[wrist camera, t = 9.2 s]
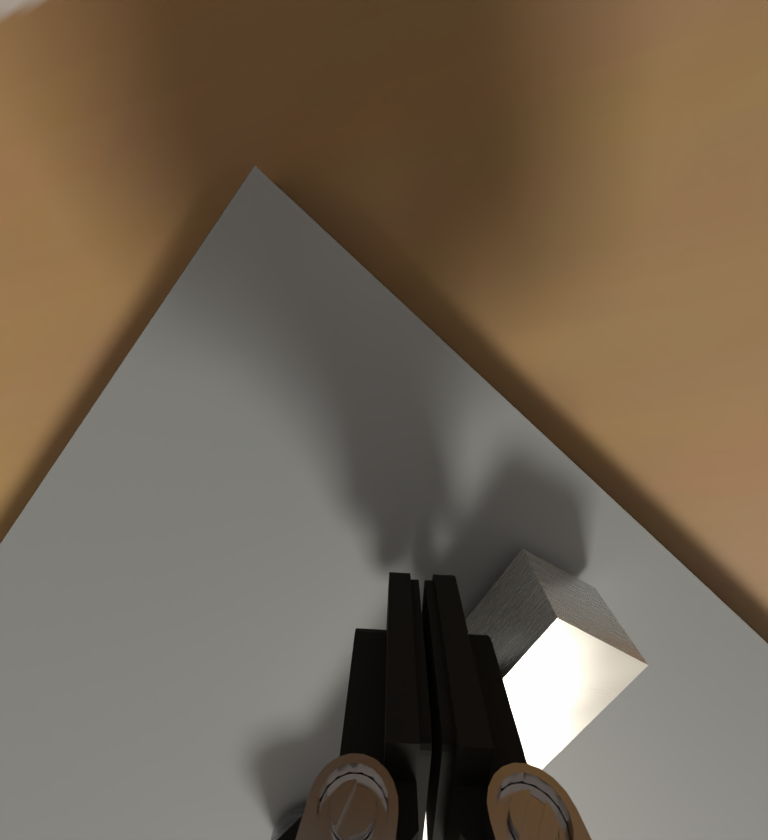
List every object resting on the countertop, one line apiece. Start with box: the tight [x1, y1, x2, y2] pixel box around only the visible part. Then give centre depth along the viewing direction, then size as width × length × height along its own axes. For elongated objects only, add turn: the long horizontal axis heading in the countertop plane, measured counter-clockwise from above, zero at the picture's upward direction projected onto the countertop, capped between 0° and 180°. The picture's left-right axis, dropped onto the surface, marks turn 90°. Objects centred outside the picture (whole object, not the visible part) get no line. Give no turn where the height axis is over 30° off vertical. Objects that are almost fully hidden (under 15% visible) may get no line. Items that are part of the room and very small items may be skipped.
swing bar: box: [270, 549, 648, 840], centre depth 11 cm, size 16×4×3 cm, turn 150°
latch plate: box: [0, 166, 768, 840], centre depth 14 cm, size 28×30×4 cm
